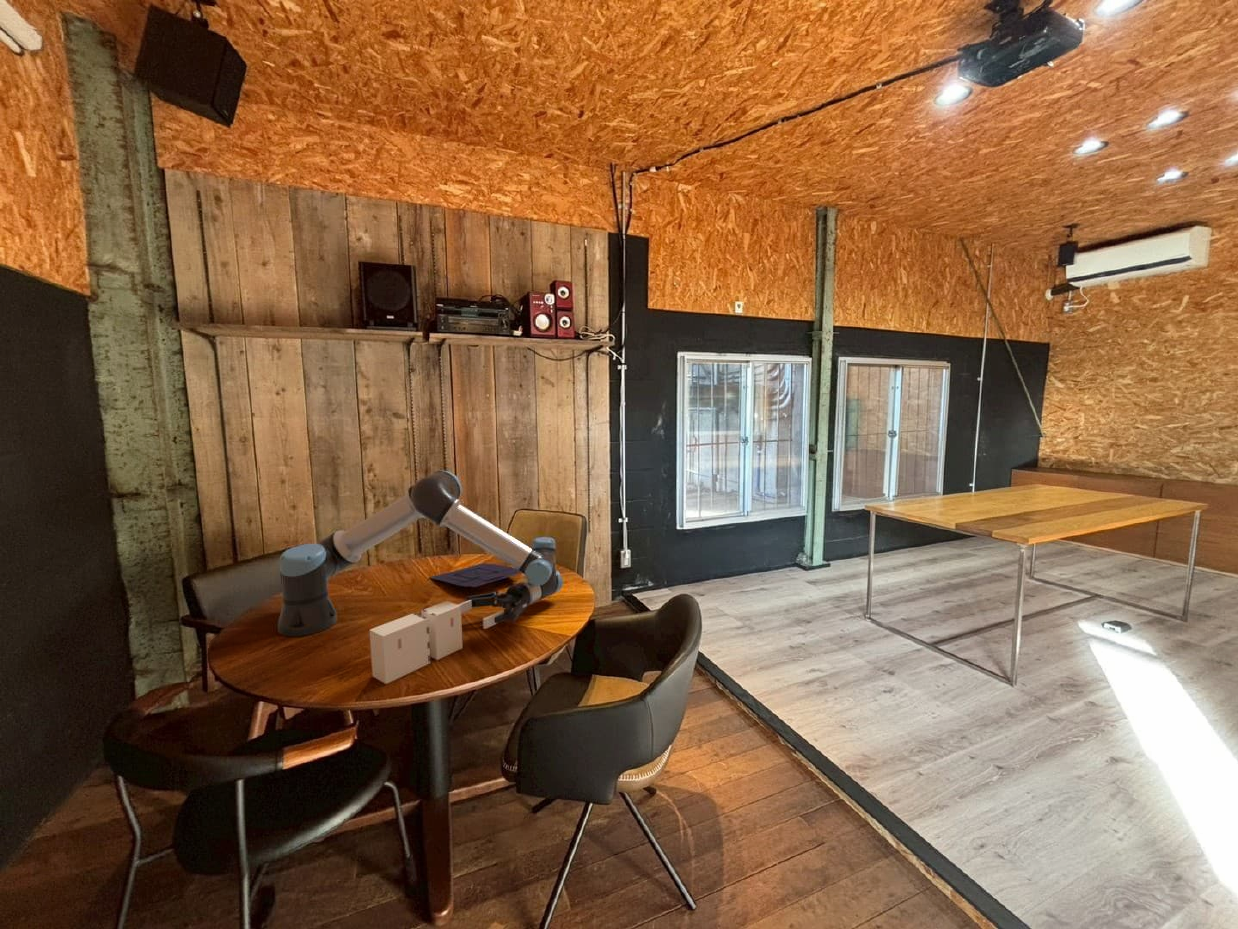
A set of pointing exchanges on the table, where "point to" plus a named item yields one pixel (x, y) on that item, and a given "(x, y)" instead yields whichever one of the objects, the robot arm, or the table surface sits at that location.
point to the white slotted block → (399, 647)
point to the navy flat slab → (477, 574)
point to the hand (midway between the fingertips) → (467, 617)
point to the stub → (444, 628)
